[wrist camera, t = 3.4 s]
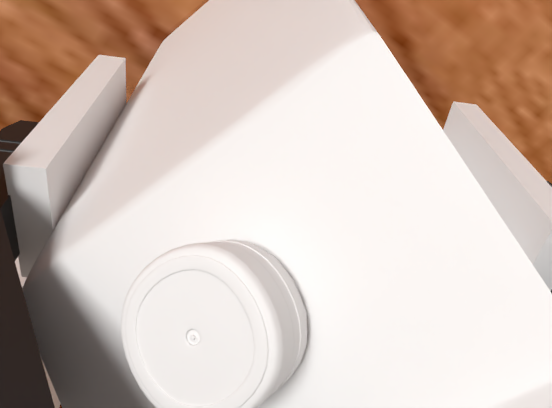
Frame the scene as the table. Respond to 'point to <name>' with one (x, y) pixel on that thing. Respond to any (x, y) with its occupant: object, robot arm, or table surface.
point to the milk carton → (285, 237)
